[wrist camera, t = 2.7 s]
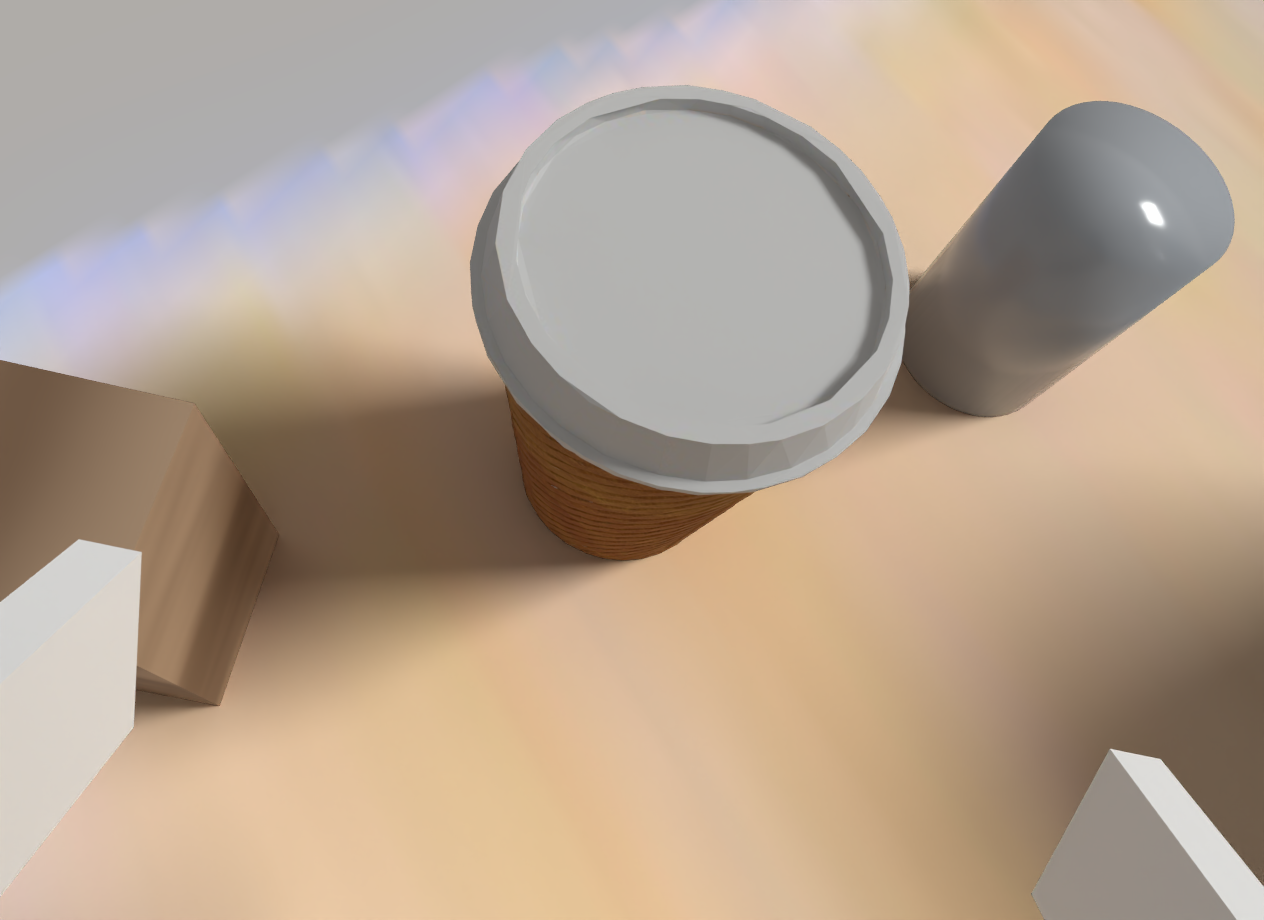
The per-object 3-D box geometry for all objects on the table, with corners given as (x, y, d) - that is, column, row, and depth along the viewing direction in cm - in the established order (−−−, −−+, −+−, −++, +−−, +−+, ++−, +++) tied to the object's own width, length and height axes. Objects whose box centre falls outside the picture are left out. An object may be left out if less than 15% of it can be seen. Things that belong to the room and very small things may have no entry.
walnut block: (279, 534, 27) (194, 403, 18) (219, 706, 25) (94, 645, 16) (105, 497, 26) (-61, 346, 18) (30, 669, 24) (-196, 587, 16)
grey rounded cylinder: (1045, 295, 35) (1223, 131, 27) (1047, 433, 32) (1244, 299, 24) (898, 258, 34) (1035, 79, 26) (890, 395, 32) (1037, 245, 24)
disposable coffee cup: (405, 464, 28) (364, 230, 17) (610, 288, 32) (685, 2, 21) (629, 678, 27) (741, 575, 16) (816, 469, 30) (1014, 267, 19)
